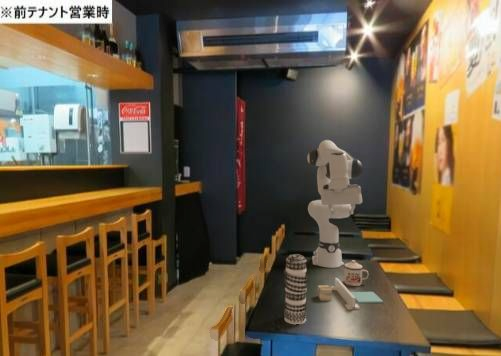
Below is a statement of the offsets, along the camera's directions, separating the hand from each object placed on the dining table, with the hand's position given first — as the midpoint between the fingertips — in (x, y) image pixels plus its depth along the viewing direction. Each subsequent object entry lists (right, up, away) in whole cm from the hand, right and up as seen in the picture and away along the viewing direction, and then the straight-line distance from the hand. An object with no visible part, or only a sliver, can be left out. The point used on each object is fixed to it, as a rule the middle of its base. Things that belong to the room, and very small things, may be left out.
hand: (342, 214), depth 161 cm
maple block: (-11, -37, -10) cm, 40 cm away
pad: (+8, -37, -9) cm, 39 cm away
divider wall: (-2, -37, -9) cm, 38 cm away
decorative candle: (-27, -38, -31) cm, 55 cm away
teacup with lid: (+10, -36, +9) cm, 39 cm away
